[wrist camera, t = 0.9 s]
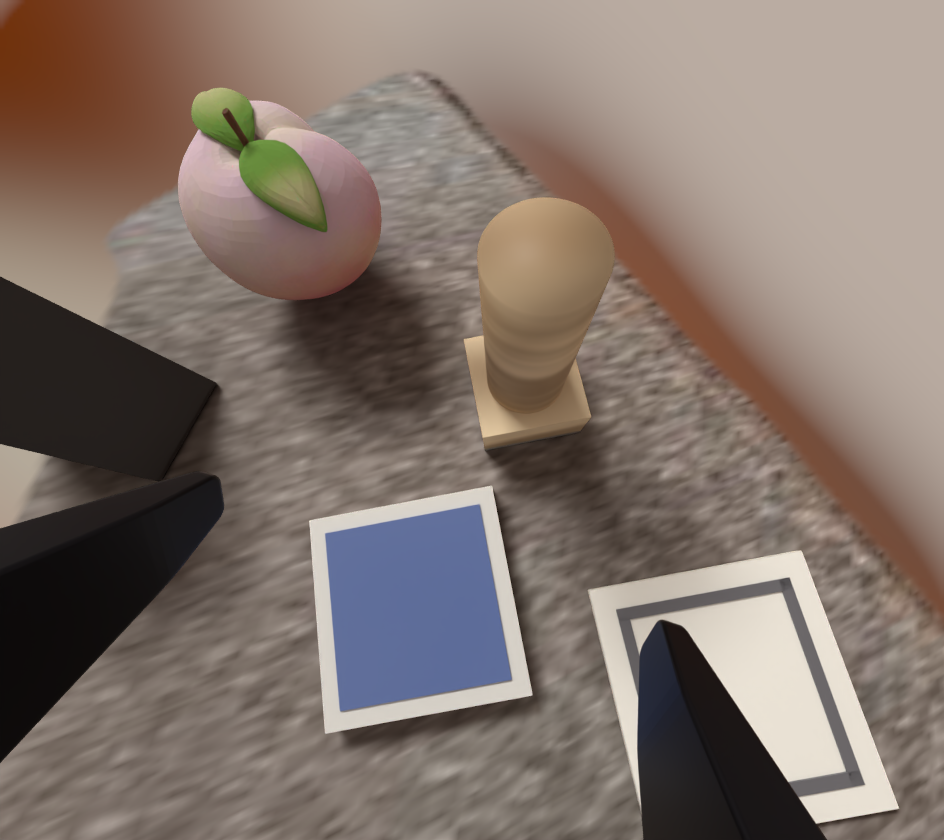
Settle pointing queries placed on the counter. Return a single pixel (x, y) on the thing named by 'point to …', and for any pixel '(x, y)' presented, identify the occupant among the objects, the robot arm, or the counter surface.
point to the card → (756, 672)
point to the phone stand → (90, 390)
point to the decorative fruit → (276, 199)
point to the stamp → (536, 318)
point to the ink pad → (415, 611)
